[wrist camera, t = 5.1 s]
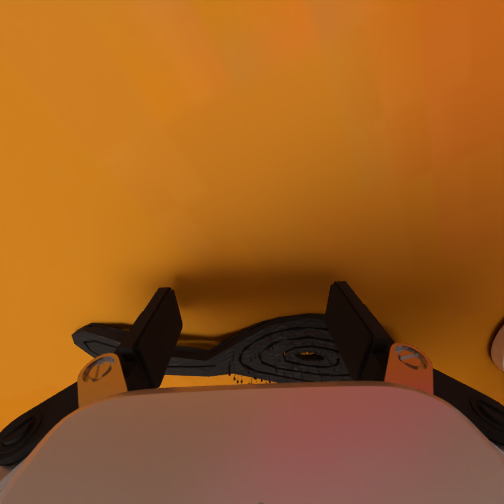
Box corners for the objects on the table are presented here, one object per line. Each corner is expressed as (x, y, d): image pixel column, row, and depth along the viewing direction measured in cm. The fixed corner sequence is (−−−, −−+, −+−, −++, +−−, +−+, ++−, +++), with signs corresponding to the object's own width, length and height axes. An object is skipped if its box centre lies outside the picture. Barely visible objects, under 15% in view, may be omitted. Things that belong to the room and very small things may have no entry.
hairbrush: (18, 319, 10) (461, 370, 11) (76, 279, 14) (414, 321, 14) (65, 401, 14) (395, 435, 15) (102, 355, 17) (370, 384, 18)
